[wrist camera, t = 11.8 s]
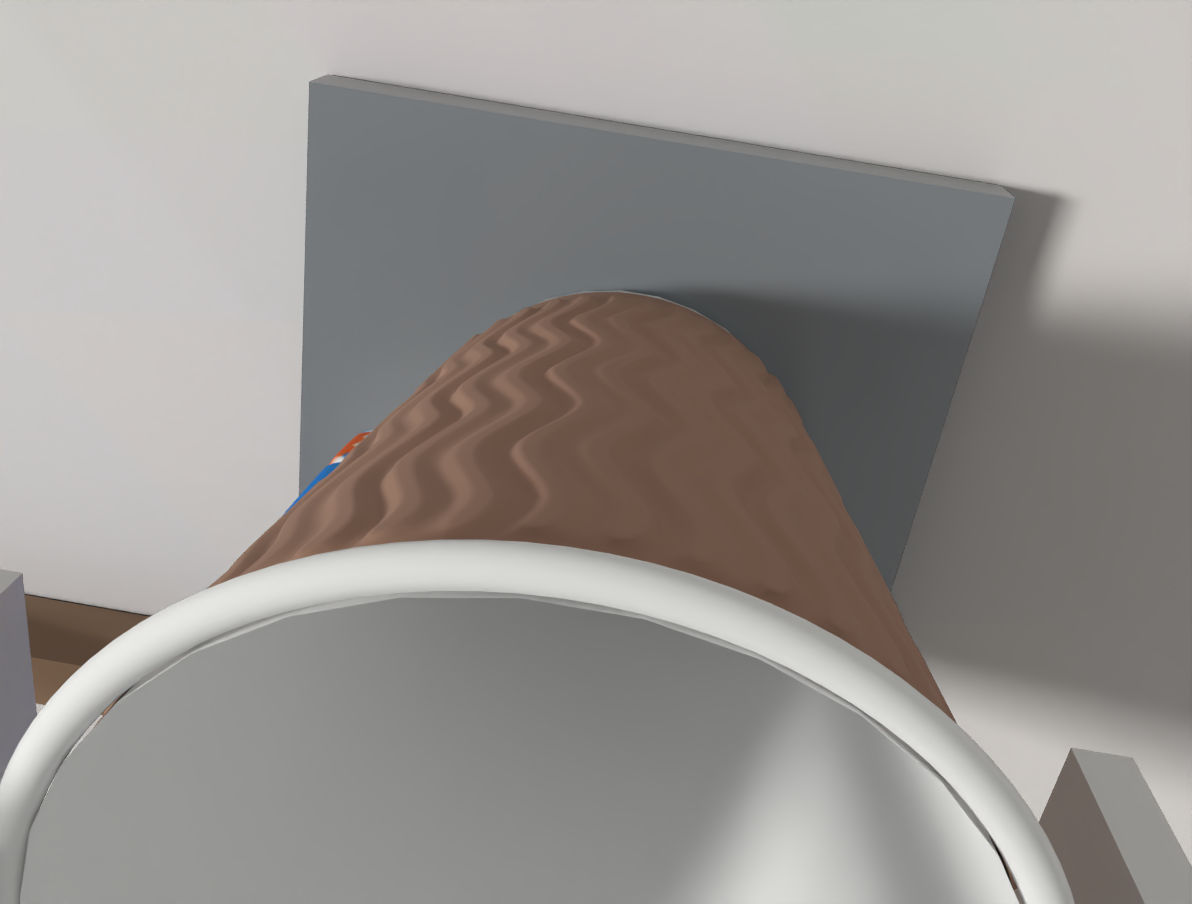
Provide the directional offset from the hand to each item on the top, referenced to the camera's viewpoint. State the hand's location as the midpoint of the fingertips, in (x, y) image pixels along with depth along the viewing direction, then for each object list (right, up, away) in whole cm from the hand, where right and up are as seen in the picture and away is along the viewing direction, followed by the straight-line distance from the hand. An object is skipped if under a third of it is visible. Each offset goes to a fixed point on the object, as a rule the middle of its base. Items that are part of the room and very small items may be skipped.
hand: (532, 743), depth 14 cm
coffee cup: (+1, +4, +7) cm, 8 cm away
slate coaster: (+1, +4, +8) cm, 9 cm away
